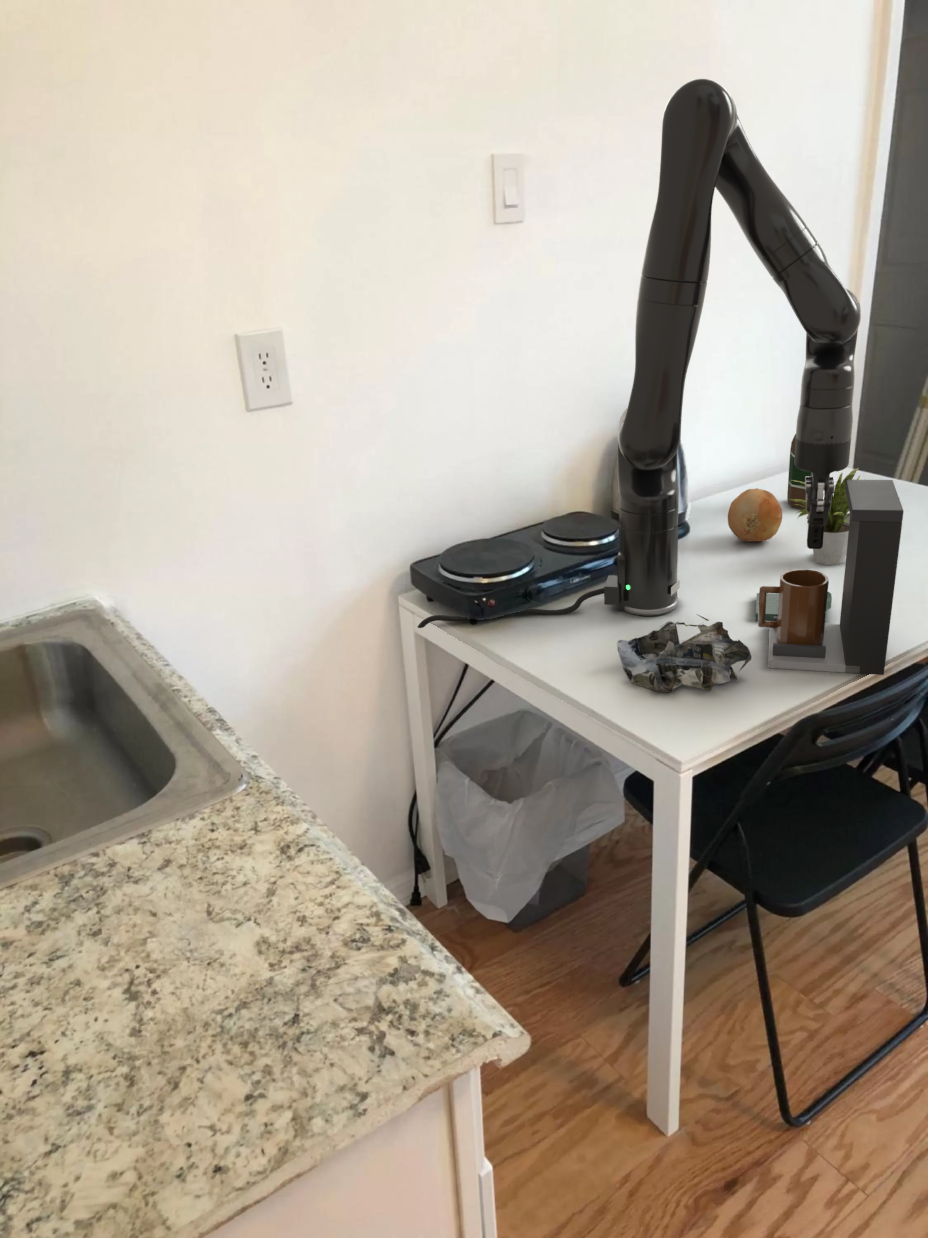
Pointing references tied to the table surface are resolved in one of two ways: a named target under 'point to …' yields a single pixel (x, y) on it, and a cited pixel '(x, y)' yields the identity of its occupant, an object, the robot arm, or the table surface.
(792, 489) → the beer bottle
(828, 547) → the house plant
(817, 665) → the coffee machine
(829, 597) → the block
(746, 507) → the onion
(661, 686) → the foil
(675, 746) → the table surface
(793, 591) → the mug
